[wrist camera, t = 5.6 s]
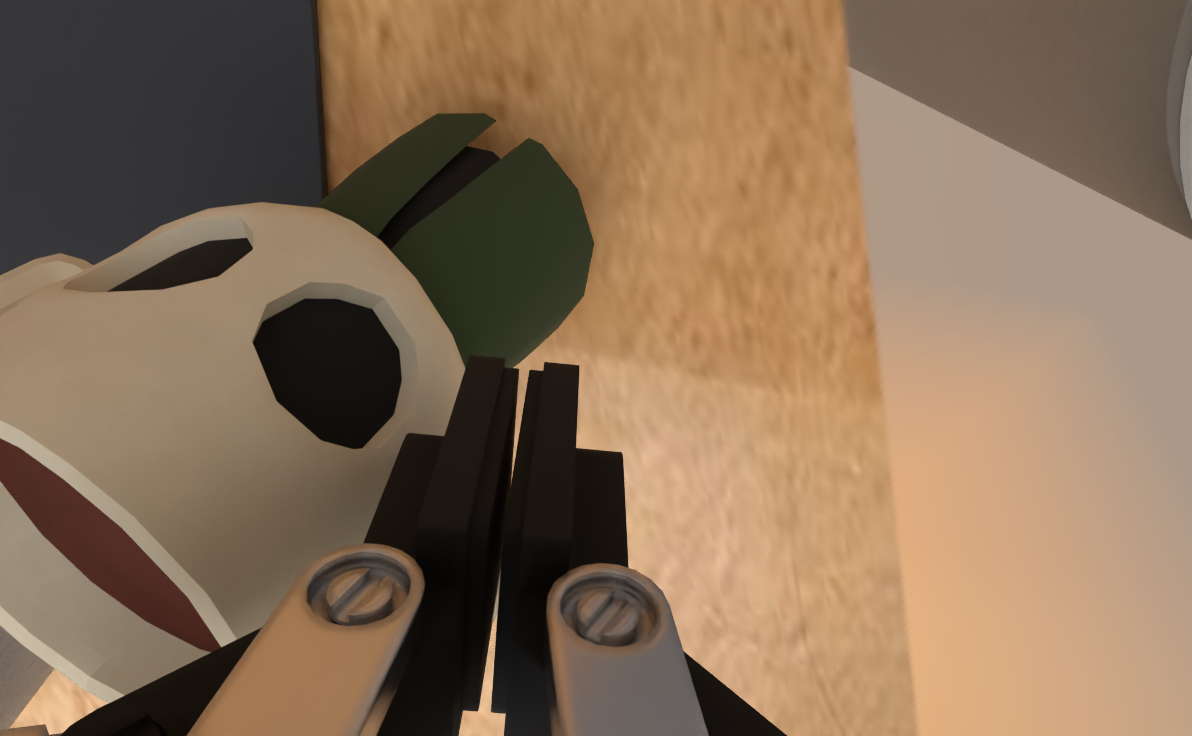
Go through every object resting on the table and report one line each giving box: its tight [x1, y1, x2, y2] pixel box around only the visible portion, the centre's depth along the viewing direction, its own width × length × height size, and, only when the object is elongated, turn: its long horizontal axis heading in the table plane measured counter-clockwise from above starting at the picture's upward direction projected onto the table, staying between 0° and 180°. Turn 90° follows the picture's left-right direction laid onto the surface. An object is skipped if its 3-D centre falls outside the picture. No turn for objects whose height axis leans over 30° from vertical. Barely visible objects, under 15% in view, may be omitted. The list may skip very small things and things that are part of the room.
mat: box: [0, 0, 327, 275], centre depth 21 cm, size 10×17×1 cm, turn 173°
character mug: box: [0, 113, 594, 704], centre depth 16 cm, size 11×7×13 cm, turn 66°
